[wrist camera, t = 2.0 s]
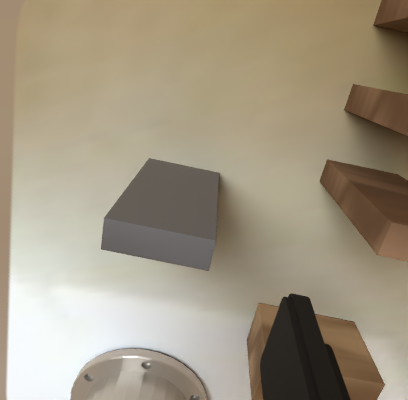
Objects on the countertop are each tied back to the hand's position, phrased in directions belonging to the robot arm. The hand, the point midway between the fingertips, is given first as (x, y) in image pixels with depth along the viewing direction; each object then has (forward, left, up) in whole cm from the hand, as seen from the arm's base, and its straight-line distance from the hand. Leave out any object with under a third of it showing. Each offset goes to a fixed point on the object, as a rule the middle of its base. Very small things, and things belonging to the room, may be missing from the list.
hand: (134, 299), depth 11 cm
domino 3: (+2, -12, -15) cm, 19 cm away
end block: (-12, -12, -15) cm, 22 cm away
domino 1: (-1, 0, -15) cm, 15 cm away
